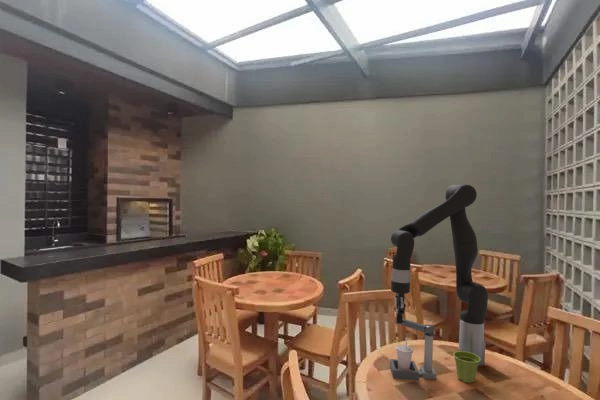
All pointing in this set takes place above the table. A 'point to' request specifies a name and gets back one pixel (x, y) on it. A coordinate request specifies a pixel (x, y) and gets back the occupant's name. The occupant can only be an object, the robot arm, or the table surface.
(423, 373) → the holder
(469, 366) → the plant pot
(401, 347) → the smoothie
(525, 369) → the table surface
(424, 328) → the joystick lever
